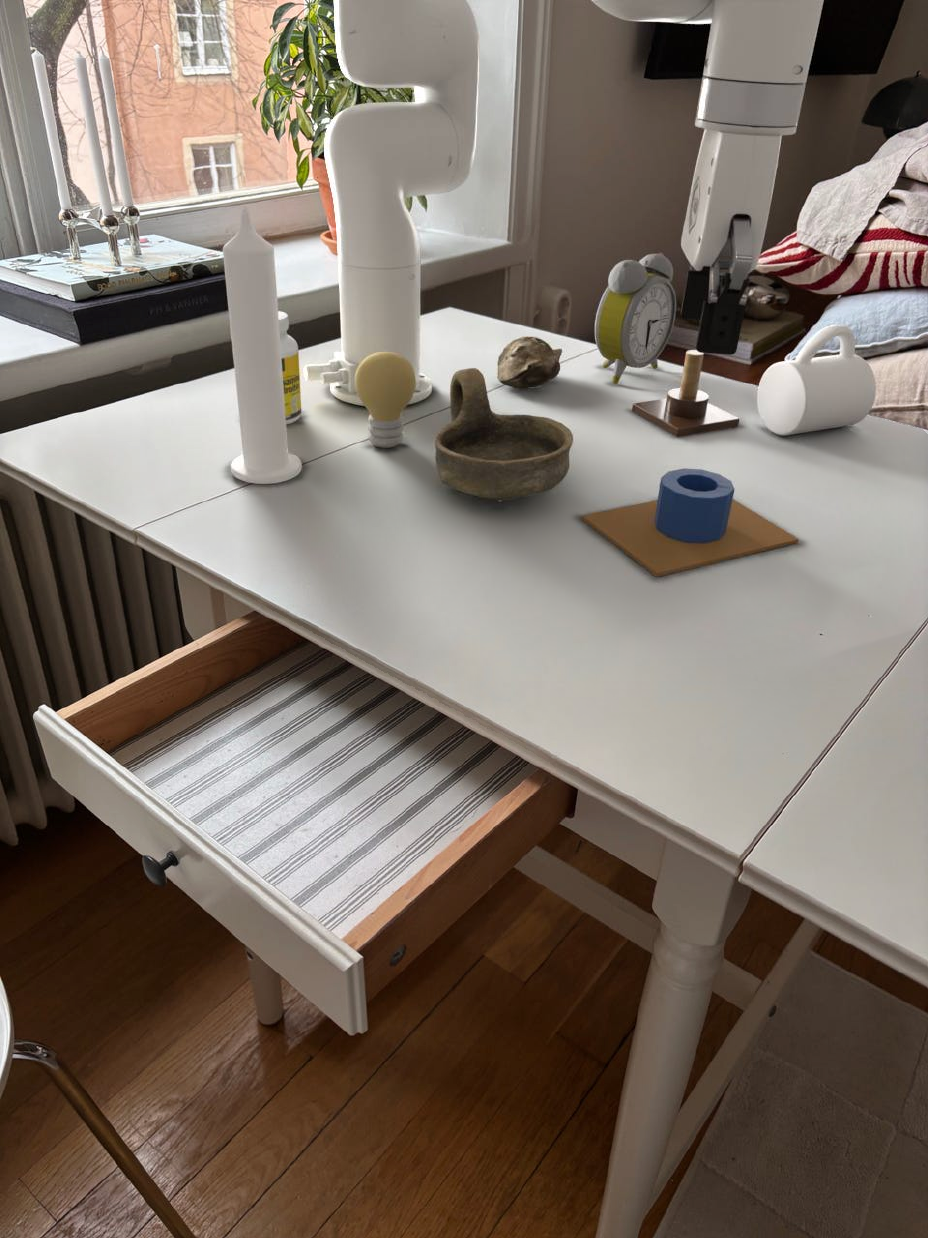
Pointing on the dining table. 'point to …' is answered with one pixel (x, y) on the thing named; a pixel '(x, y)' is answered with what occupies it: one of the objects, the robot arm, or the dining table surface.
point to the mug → (817, 387)
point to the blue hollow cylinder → (693, 505)
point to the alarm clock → (636, 313)
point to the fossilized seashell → (528, 363)
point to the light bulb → (385, 395)
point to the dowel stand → (686, 405)
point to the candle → (257, 358)
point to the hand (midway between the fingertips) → (706, 334)
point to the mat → (668, 555)
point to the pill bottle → (289, 371)
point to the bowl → (498, 446)
